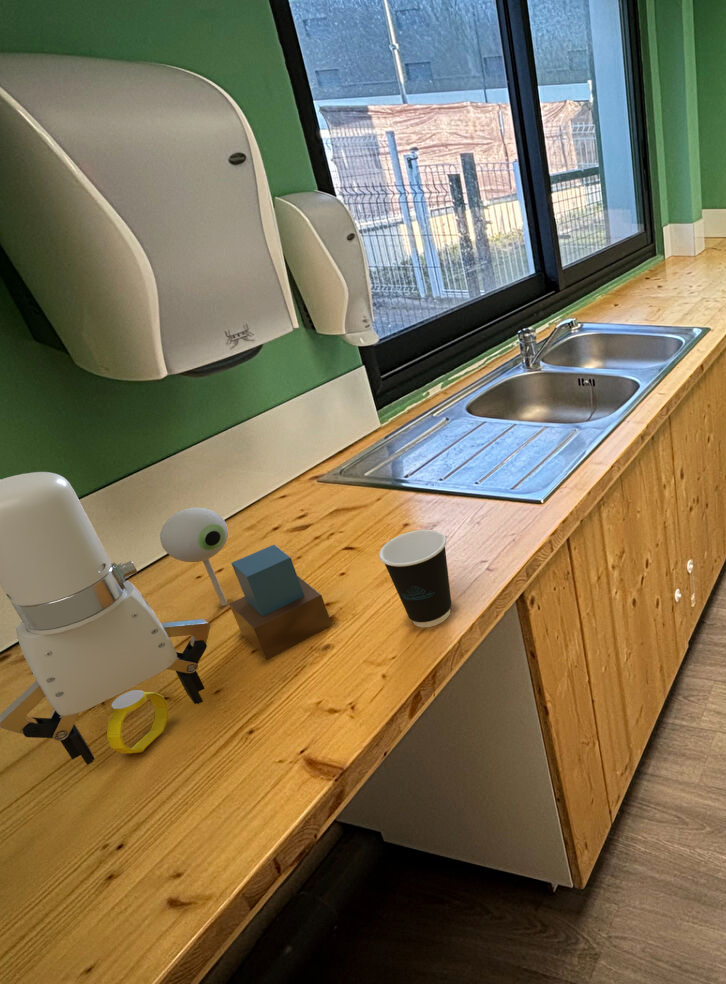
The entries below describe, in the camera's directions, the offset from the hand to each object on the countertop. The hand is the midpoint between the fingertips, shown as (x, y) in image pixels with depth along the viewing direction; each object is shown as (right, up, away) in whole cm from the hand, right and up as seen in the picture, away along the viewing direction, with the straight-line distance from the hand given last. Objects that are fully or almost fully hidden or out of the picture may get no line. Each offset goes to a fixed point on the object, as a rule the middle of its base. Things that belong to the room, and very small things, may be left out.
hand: (144, 725), depth 75 cm
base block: (+5, +6, +17) cm, 18 cm away
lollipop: (-7, +8, +22) cm, 25 cm away
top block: (+5, +10, +15) cm, 19 cm away
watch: (0, -2, +1) cm, 2 cm away
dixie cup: (+23, +7, +18) cm, 30 cm away
